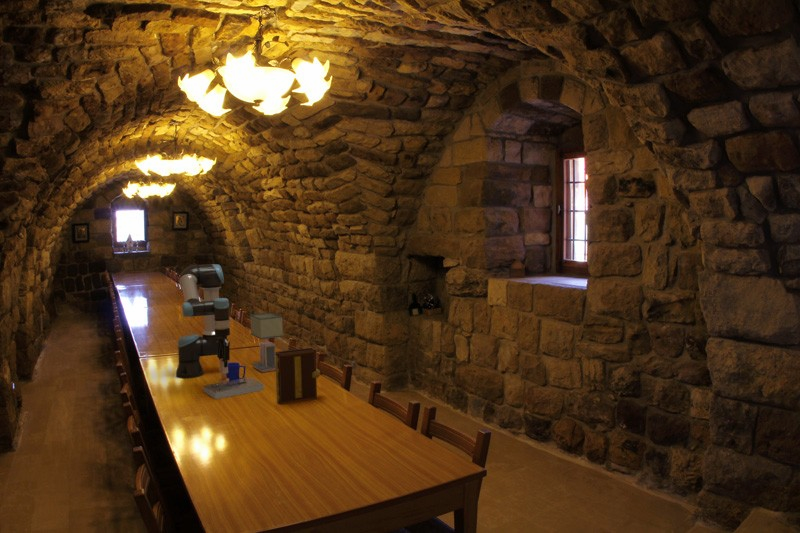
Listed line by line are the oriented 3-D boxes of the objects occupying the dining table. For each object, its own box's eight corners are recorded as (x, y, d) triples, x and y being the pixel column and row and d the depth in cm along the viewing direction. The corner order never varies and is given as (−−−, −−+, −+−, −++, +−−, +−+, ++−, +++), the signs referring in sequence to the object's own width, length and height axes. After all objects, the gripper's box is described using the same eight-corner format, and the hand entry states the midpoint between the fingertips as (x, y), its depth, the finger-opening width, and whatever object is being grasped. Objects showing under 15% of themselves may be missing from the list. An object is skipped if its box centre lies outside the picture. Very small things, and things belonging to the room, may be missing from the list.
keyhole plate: (215, 399, 300) (215, 392, 300) (203, 392, 314) (203, 385, 313) (263, 389, 316) (263, 383, 316) (250, 383, 329) (250, 377, 329)
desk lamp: (251, 367, 366) (249, 314, 364) (273, 364, 374) (272, 312, 371) (261, 373, 351) (259, 318, 348) (284, 370, 358) (282, 316, 356)
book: (280, 405, 288) (278, 354, 286) (275, 401, 296) (273, 351, 294) (323, 398, 298) (321, 349, 297) (317, 394, 306) (316, 346, 304)
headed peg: (217, 381, 311) (216, 358, 311) (227, 380, 314) (226, 357, 314) (221, 383, 308) (220, 360, 307) (230, 382, 311) (229, 358, 310)
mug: (242, 384, 328) (241, 366, 327) (222, 383, 330) (221, 365, 330) (249, 380, 336) (248, 362, 335) (229, 379, 338) (228, 362, 338)
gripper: (209, 327, 313) (211, 370, 315) (221, 330, 300) (222, 376, 302) (223, 325, 318) (225, 368, 319) (235, 329, 305) (237, 374, 306)
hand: (224, 372), depth 311 cm, fingers closed on headed peg, 3 cm apart
